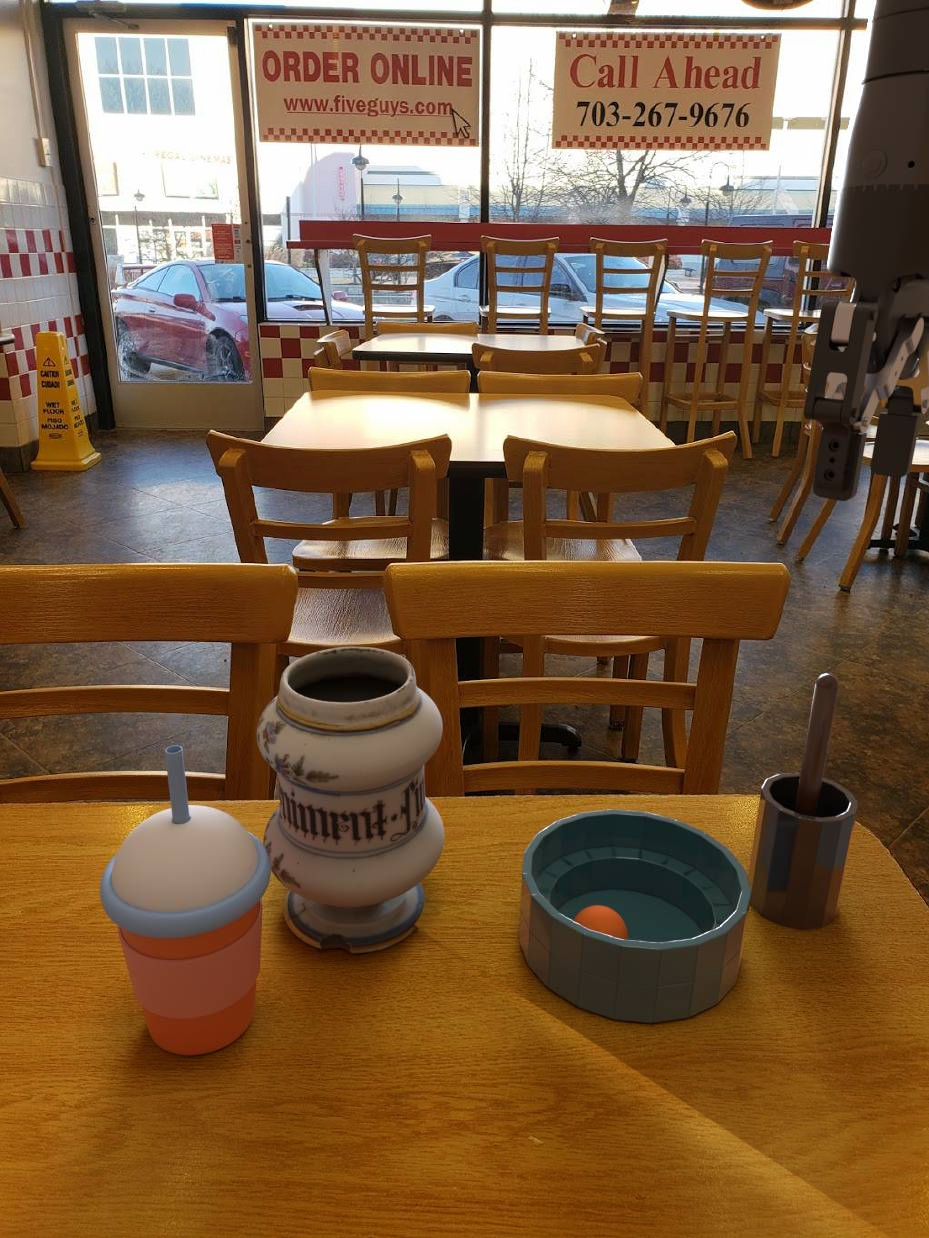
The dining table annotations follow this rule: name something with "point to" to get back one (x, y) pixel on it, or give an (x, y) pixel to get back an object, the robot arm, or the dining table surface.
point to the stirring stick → (816, 744)
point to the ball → (602, 921)
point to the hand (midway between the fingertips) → (862, 486)
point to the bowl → (634, 914)
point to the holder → (800, 853)
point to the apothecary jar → (351, 797)
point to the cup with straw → (190, 919)
